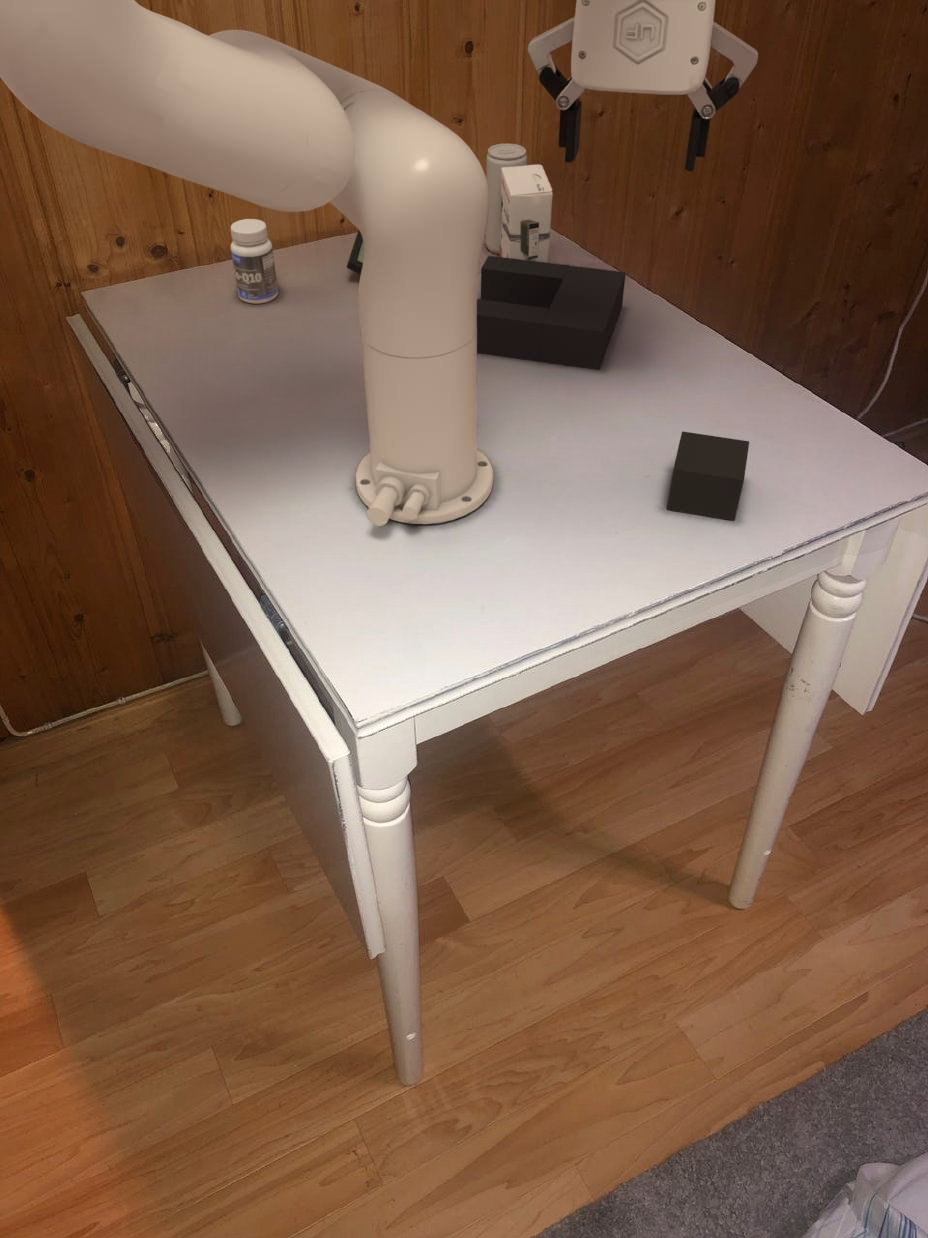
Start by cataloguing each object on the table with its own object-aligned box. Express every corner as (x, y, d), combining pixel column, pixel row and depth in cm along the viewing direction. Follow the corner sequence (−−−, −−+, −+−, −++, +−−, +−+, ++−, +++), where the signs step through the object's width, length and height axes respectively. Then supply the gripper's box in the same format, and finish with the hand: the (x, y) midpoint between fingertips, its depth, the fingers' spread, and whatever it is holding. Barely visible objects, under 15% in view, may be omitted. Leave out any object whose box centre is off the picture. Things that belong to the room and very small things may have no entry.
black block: (734, 521, 90) (744, 479, 86) (666, 509, 91) (673, 468, 88) (740, 481, 94) (749, 440, 91) (675, 471, 95) (682, 430, 92)
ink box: (497, 261, 126) (499, 164, 118) (536, 259, 127) (541, 162, 118) (507, 293, 120) (510, 193, 112) (548, 291, 121) (553, 191, 112)
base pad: (455, 349, 111) (454, 311, 108) (488, 291, 121) (488, 255, 117) (600, 370, 108) (603, 331, 105) (621, 308, 117) (626, 271, 114)
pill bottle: (231, 300, 119) (218, 230, 113) (250, 283, 122) (239, 214, 117) (267, 307, 118) (256, 236, 112) (285, 289, 121) (276, 219, 115)
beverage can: (524, 256, 127) (527, 157, 119) (485, 256, 127) (486, 157, 119) (523, 239, 131) (526, 142, 122) (485, 239, 131) (486, 142, 122)
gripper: (523, -85, 69) (517, 170, 82) (782, -77, 67) (737, 186, 79) (541, -107, 75) (533, 137, 87) (783, -100, 72) (740, 151, 84)
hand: (630, 160), depth 83 cm, fingers open, 9 cm apart
